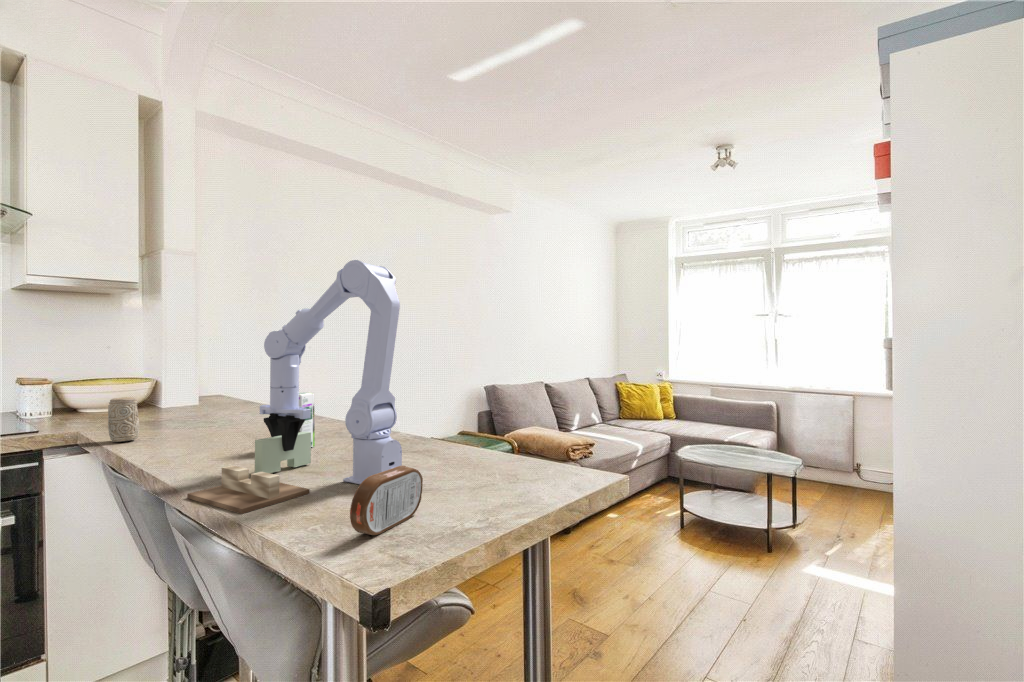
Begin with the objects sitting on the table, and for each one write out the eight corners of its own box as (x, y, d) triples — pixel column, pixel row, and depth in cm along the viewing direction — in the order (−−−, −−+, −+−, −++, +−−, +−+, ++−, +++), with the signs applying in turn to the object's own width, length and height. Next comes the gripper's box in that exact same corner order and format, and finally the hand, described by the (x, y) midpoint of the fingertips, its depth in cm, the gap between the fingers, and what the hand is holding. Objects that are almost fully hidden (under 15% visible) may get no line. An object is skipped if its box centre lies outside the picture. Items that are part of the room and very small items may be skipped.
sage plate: (303, 462, 115) (303, 431, 115) (310, 463, 114) (311, 432, 114) (254, 473, 105) (254, 440, 105) (261, 475, 104) (262, 441, 104)
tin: (410, 509, 85) (410, 459, 85) (426, 512, 83) (426, 461, 83) (347, 541, 71) (348, 481, 71) (365, 545, 70) (366, 484, 70)
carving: (120, 439, 142) (121, 396, 142) (145, 439, 141) (146, 397, 141) (100, 443, 136) (101, 399, 136) (126, 444, 135) (127, 399, 135)
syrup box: (301, 451, 128) (302, 394, 128) (281, 450, 129) (281, 393, 129) (315, 447, 134) (315, 392, 134) (295, 446, 135) (295, 391, 135)
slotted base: (309, 493, 93) (309, 469, 93) (241, 513, 82) (242, 486, 82) (255, 481, 101) (255, 459, 101) (187, 498, 89) (187, 473, 89)
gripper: (246, 386, 110) (246, 449, 110) (290, 390, 103) (289, 457, 103) (276, 384, 116) (275, 443, 116) (318, 387, 109) (318, 450, 109)
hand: (284, 449), depth 110 cm, fingers closed on sage plate, 2 cm apart
